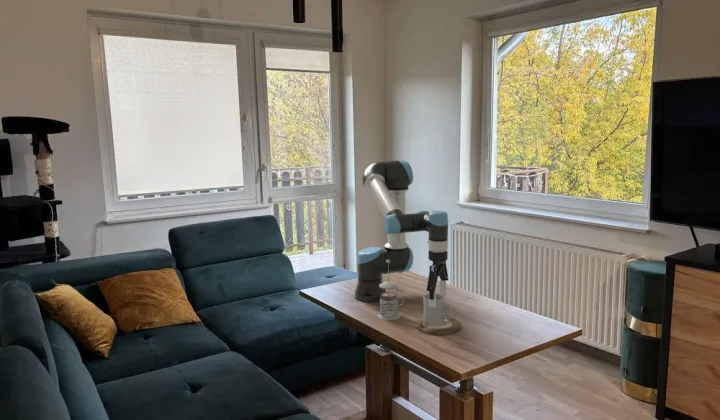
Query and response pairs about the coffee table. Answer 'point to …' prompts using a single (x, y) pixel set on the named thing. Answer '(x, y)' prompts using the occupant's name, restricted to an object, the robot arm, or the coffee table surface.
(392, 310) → the french press
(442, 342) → the coffee table surface
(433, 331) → the ring
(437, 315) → the mug
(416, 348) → the coffee table surface
